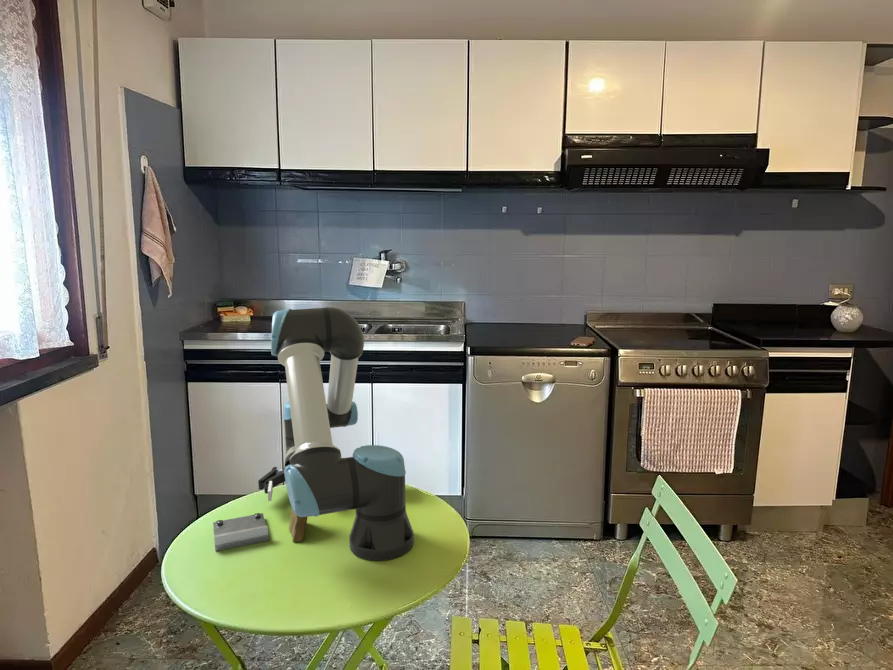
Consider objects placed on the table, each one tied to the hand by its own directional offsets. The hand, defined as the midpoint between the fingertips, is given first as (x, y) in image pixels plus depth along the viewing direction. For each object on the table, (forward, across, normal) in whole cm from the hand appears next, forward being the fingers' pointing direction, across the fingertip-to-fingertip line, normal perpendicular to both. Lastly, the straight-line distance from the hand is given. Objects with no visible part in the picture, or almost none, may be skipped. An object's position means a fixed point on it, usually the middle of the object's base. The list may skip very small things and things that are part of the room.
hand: (296, 493), depth 156 cm
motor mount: (+7, +14, -6) cm, 16 cm away
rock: (+9, 0, -6) cm, 11 cm away
